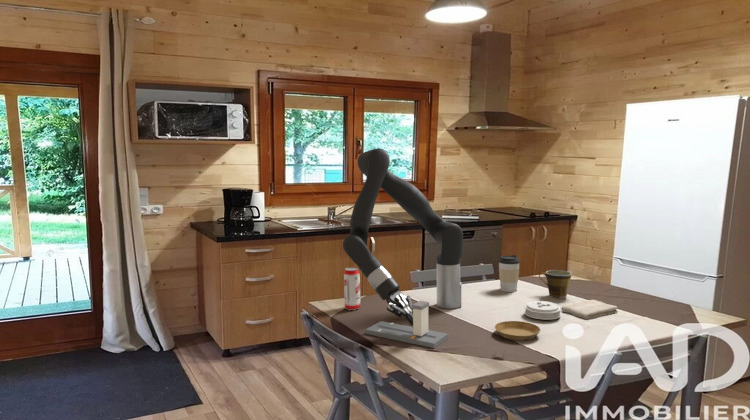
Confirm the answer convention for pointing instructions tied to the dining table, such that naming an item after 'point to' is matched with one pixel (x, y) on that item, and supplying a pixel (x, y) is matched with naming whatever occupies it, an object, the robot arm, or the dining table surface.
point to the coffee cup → (508, 273)
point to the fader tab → (420, 318)
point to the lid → (542, 310)
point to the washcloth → (589, 309)
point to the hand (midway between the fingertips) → (415, 323)
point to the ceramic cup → (557, 283)
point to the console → (406, 334)
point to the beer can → (352, 288)
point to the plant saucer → (517, 330)
